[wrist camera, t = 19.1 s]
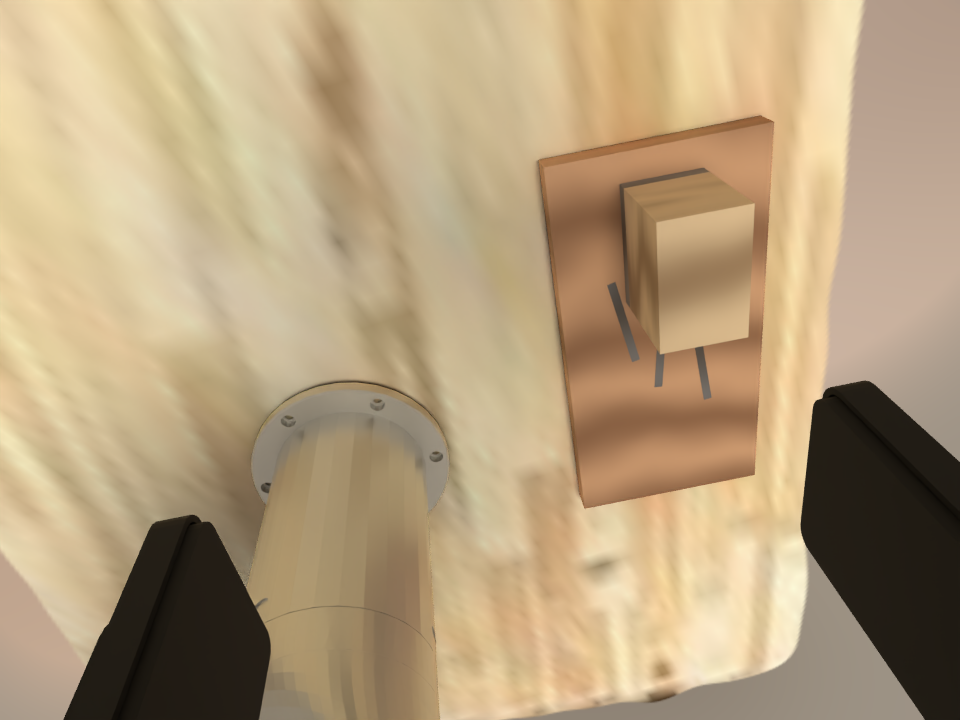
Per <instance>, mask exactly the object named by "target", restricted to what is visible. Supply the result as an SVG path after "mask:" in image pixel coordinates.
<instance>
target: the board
mask: <svg viewBox="0 0 960 720" xmlns="http://www.w3.org/2000/svg"><path fill="white" fill-rule="evenodd" d="M773 132H774V122H773V121H771V120H769V119H767V118H764V117H762V116H757V117H752V118H747V119H742V120H737V121H732V122H727V123H722V124H717V125H712V126H707V127H702V128H697V129H692V130H687V131H682V132H677V133H672V134H667V135H662V136H657V137H652V138H647V139H642V140H637V141H632V142H627V143H622V144H617V145H612V146H606V147H601V148H596V149H591V150H586V151H581V152H576V153H571V154H566V155H561V156H556V157H551V158H546V159H541V160H539V168H540V176H541V184H542V192H543V200H544V209H545V217H546V225H547V233H548V241H549V249H550V257H551V265H552V274H553V282H554V290H555V298H556V306H557V314H558V322H559V330H560V338H561V347H562V355H563V363H564V371H565V379H566V387H567V395H568V403H569V412H570V420H571V428H572V436H573V444H574V452H575V460H576V468H577V476H578V485H579V493H580V497H581V499H582V502H583V505H584V508H590V507H595V506H600V505H605V504H611V503H616V502H621V501H626V500H631V499H636V498H641V497H646V496H651V495H656V494H661V493H666V492H671V491H676V490H681V489H686V488H691V487H696V486H701V485H706V484H711V483H716V482H721V481H726V480H731V479H736V478H741V477H746V476H751V475H754V474H755V456H756V438H757V420H758V402H759V384H760V366H761V348H762V330H763V312H764V294H765V276H766V258H767V240H768V222H769V204H770V186H771V168H772V150H773ZM699 168H705V169H706V170H708V171H709V172H711V173H712V174H714V175H715V176H716V177H718V178H719V179H721V180H722V181H724V182H725V183H726V184H728V185H729V186H731V187H732V188H734V189H735V190H736V191H738V192H739V193H741V194H742V195H744V196H745V197H746V198H748V199H749V200H751V201H752V202H754V203H755V209H754V229H753V250H752V271H751V291H750V312H749V333H748V337H747V338H742V339H737V340H732V341H727V342H721V343H716V344H711V345H706V346H701V347H696V348H690V349H685V350H680V351H675V352H670V353H665V354H660V353H659V352H658V350H657V349H656V347H655V346H654V344H653V343H652V341H651V340H650V338H649V336H648V335H647V333H646V332H645V330H644V329H643V327H642V326H641V324H640V323H639V321H638V320H637V318H636V317H635V315H634V314H633V312H632V310H631V309H630V307H629V306H628V304H627V303H626V291H625V274H624V256H623V239H622V221H621V204H620V186H619V184H621V183H627V182H632V181H637V180H642V179H647V178H653V177H658V176H663V175H668V174H673V173H678V172H684V171H689V170H694V169H699Z"/></svg>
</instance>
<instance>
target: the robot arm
mask: <svg viewBox="0 0 960 720" xmlns="http://www.w3.org/2000/svg"><path fill="white" fill-rule="evenodd" d="M449 467H450V462H449V453H448V447H447V444H446V440H445V437H444V434H443V432H442V431H441V429H440V427H439V425H438V424H437V422H436V421H435V420H434V418H433V417H432V416H431V415H430V414H429V413H428V412H427V411H426V410H425V409H424V408H423V407H422V406H420V405H419V404H418V403H416V402H415V401H414V400H412V399H411V398H409V397H407V396H405V395H403V394H401V393H399V392H397V391H394V390H391V389H388V388H384V387H381V386H378V385H372V384H365V383H357V382H356V383H334V384H329V385H323V386H318V387H315V388H312V389H309V390H307V391H304V392H301V393H299V394H297V395H296V396H294V397H292V398H290V399H289V400H287V401H285V402H284V403H283V404H281V405H280V406H279V407H278V408H277V409H276V410H275V411H273V412H272V413H271V414H270V416H269V417H268V418H267V420H266V421H265V422H264V424H263V425H262V427H261V429H260V431H259V433H258V436H257V438H256V441H255V444H254V448H253V452H252V456H251V473H252V478H253V482H254V486H255V488H256V490H257V492H258V494H259V496H260V498H261V500H262V501H263V502H264V503H265V505H266V508H265V512H264V516H263V521H262V525H261V529H260V533H259V537H258V542H257V546H256V550H255V554H254V559H253V563H252V567H251V571H250V575H249V580H248V584H247V588H245V586H244V584H243V582H242V580H241V578H240V576H239V574H238V572H237V570H236V569H235V567H234V565H233V563H232V561H231V559H230V557H229V555H228V553H227V551H226V549H225V547H224V545H223V543H222V541H221V539H220V538H219V536H218V534H217V532H216V530H215V528H214V526H213V525H212V524H211V523H210V522H201V520H200V519H199V518H198V517H197V516H195V515H188V516H183V517H178V518H173V519H168V520H163V521H158V522H156V523H154V524H153V525H152V526H151V528H150V529H149V531H148V534H147V536H146V538H145V541H144V543H143V545H142V548H141V550H140V552H139V555H138V557H137V559H136V562H135V564H134V566H133V569H132V571H131V573H130V576H129V578H128V580H127V583H126V585H125V587H124V590H123V592H122V594H121V597H120V599H119V601H118V604H117V606H116V608H115V611H114V613H113V615H112V618H111V620H110V622H109V624H108V625H107V626H106V627H105V628H104V630H103V632H102V633H101V635H100V637H99V639H98V641H97V644H96V646H95V648H94V650H93V653H92V655H91V657H90V660H89V662H88V664H87V667H86V669H85V671H84V674H83V676H82V678H81V680H80V683H79V685H78V687H77V690H76V692H75V694H74V697H73V699H72V701H71V704H70V706H69V708H68V710H67V713H66V715H65V717H64V720H440V712H439V697H438V680H437V665H436V640H435V624H434V607H433V590H432V572H431V554H430V536H429V517H428V513H429V512H430V511H431V510H432V509H433V508H434V507H435V506H436V505H437V503H438V501H439V500H440V498H441V496H442V495H443V493H444V491H445V488H446V485H447V482H448V479H449ZM801 533H802V537H803V540H804V542H805V544H806V546H807V548H808V550H809V551H810V553H811V554H812V556H813V557H814V559H815V560H816V561H817V563H818V564H819V566H820V567H821V569H822V570H823V571H824V573H825V574H826V576H827V577H828V579H829V580H830V582H831V583H832V585H833V586H834V588H835V589H836V591H837V592H838V593H839V595H840V596H841V598H842V599H843V601H844V602H845V604H846V605H847V607H848V608H849V609H850V611H851V612H852V614H853V615H854V617H855V618H856V620H857V621H858V622H859V624H860V625H861V627H862V628H863V630H864V631H865V633H866V634H867V635H868V637H869V638H870V640H871V641H872V643H873V644H874V646H875V647H876V649H877V650H878V652H879V653H880V655H881V656H882V658H883V659H884V661H885V662H886V663H887V665H888V666H889V668H890V669H891V671H892V672H893V674H894V675H895V676H896V678H897V679H898V681H899V682H900V684H901V685H902V687H903V688H904V690H905V691H906V693H907V694H908V696H909V697H910V698H911V700H912V701H913V703H914V704H915V706H916V707H917V708H918V710H919V712H920V713H921V714H922V716H923V717H924V719H925V720H960V462H959V461H958V460H957V459H956V458H955V457H953V456H952V455H951V454H950V453H949V452H948V451H947V450H946V449H945V448H944V447H943V446H942V445H940V444H939V443H938V442H937V441H936V440H935V439H934V438H933V437H932V436H930V435H929V434H928V433H927V432H926V431H925V430H924V429H923V428H922V427H921V426H920V425H918V424H917V423H916V422H915V421H914V420H913V419H912V418H911V417H910V416H909V415H907V414H906V413H905V412H904V411H903V410H902V409H901V408H900V407H899V406H897V405H896V404H895V403H894V402H893V401H892V400H891V399H890V398H889V397H887V395H885V394H884V393H883V392H882V391H881V390H880V389H879V388H878V387H877V386H876V385H874V384H873V383H871V382H869V381H860V382H856V383H850V384H846V385H841V386H835V387H830V388H828V389H826V390H825V392H824V394H823V398H822V399H819V400H816V402H815V403H814V406H813V413H812V422H811V431H810V441H809V450H808V459H807V469H806V478H805V487H804V497H803V506H802V515H801Z"/></svg>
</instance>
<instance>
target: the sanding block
mask: <svg viewBox="0 0 960 720" xmlns="http://www.w3.org/2000/svg"><path fill="white" fill-rule="evenodd" d="M619 186H620V204H621V221H622V239H623V256H624V274H625V291H626V303H627V304H628V306H629V307H630V309H631V310H632V312H633V314H634V315H635V317H636V318H637V320H638V321H639V323H640V324H641V326H642V327H643V329H644V330H645V332H646V333H647V335H648V336H649V338H650V340H651V341H652V343H653V344H654V346H655V347H656V349H657V350H658V352H659V353H660V354H665V353H670V352H675V351H680V350H685V349H690V348H696V347H701V346H706V345H711V344H716V343H721V342H727V341H732V340H737V339H742V338H747V337H748V333H749V312H750V291H751V271H752V250H753V229H754V209H755V203H754V202H752V201H751V200H749V199H748V198H746V197H745V196H744V195H742V194H741V193H739V192H738V191H736V190H735V189H734V188H732V187H731V186H729V185H728V184H726V183H725V182H724V181H722V180H721V179H719V178H718V177H716V176H715V175H714V174H712V173H711V172H709V171H708V170H706V169H705V168H699V169H694V170H689V171H684V172H678V173H673V174H668V175H663V176H658V177H653V178H647V179H642V180H637V181H632V182H627V183H621V184H619Z"/></svg>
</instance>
